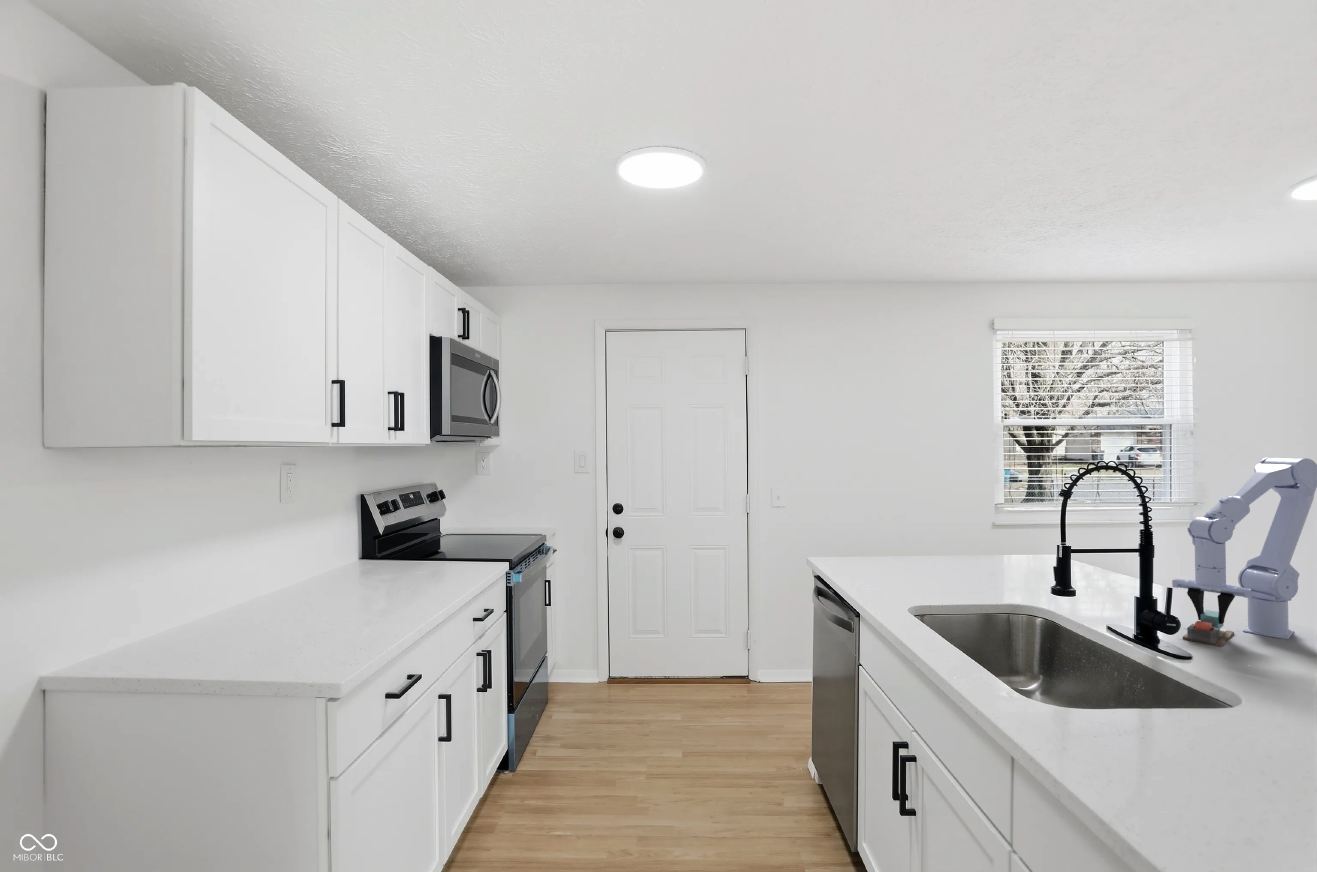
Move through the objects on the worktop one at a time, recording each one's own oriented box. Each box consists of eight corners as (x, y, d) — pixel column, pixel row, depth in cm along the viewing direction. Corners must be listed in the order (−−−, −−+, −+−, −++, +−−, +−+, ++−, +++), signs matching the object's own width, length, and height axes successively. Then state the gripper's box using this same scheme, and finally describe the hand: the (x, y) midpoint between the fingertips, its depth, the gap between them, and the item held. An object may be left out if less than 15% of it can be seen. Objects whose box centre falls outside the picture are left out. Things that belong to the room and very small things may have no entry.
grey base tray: (1197, 627, 158) (1197, 615, 158) (1234, 633, 153) (1233, 621, 153) (1182, 639, 149) (1181, 626, 149) (1220, 646, 144) (1220, 633, 144)
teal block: (1206, 622, 157) (1206, 609, 157) (1223, 625, 154) (1223, 612, 154) (1199, 628, 152) (1199, 615, 152) (1216, 631, 150) (1216, 618, 150)
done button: (1197, 630, 150) (1197, 620, 150) (1212, 633, 148) (1211, 623, 148) (1195, 632, 148) (1194, 622, 148) (1209, 635, 146) (1209, 625, 146)
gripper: (1168, 564, 156) (1169, 617, 156) (1247, 573, 145) (1247, 631, 145) (1176, 560, 161) (1176, 612, 161) (1252, 569, 149) (1253, 625, 149)
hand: (1211, 621), depth 153 cm, fingers closed on teal block, 3 cm apart
